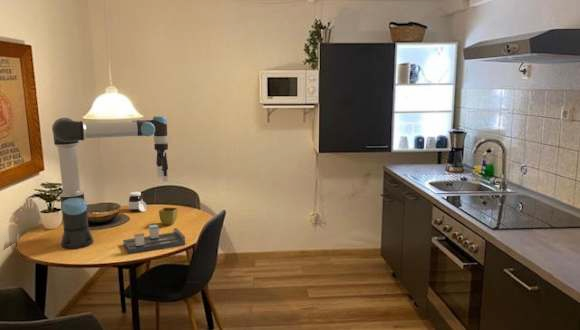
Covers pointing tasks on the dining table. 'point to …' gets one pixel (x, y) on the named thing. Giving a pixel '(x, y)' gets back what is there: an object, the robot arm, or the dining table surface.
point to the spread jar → (137, 202)
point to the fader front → (139, 238)
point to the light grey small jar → (154, 231)
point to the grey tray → (156, 242)
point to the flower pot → (168, 215)
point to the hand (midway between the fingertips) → (162, 179)
